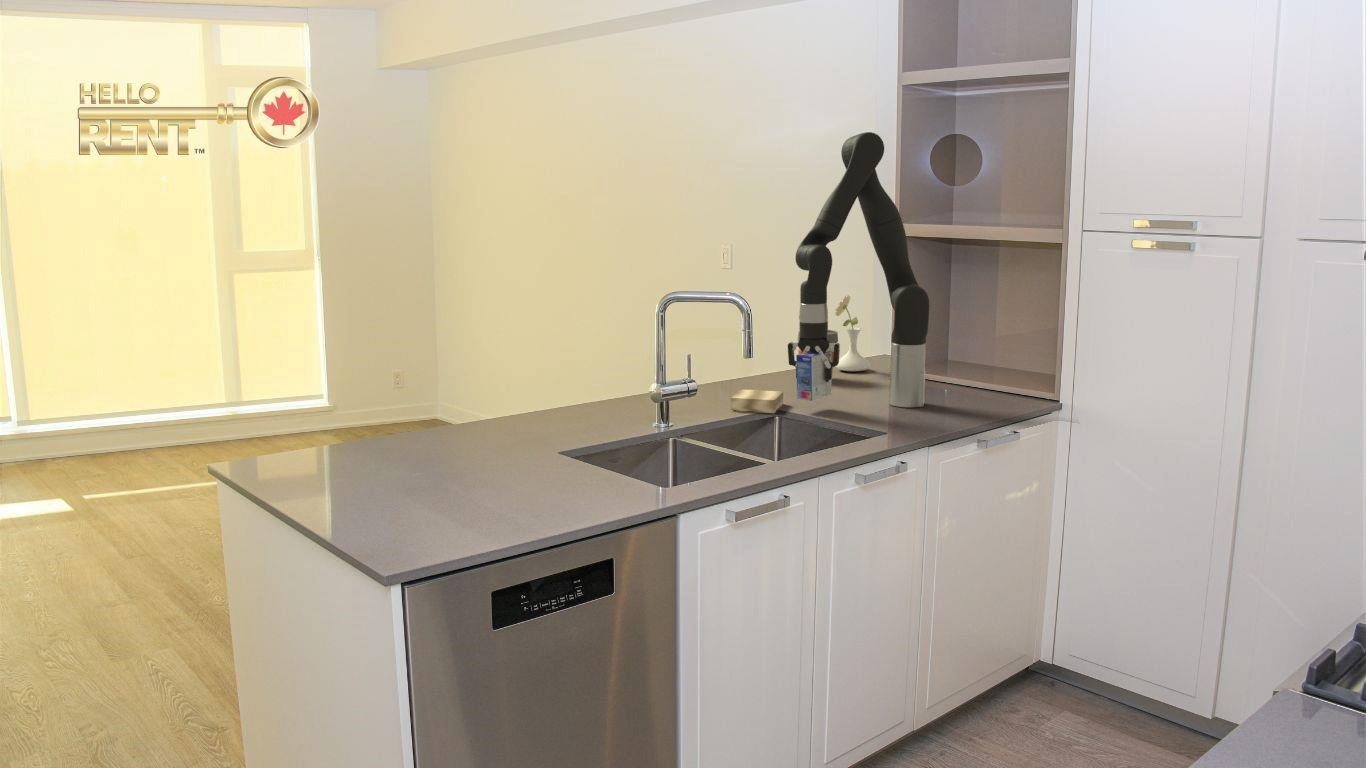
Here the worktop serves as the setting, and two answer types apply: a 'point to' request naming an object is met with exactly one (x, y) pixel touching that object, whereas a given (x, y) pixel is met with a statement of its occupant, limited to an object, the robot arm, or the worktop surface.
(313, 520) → the worktop surface
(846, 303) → the flower in vase
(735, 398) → the birch block
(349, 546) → the worktop surface
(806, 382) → the ink cartridge box
